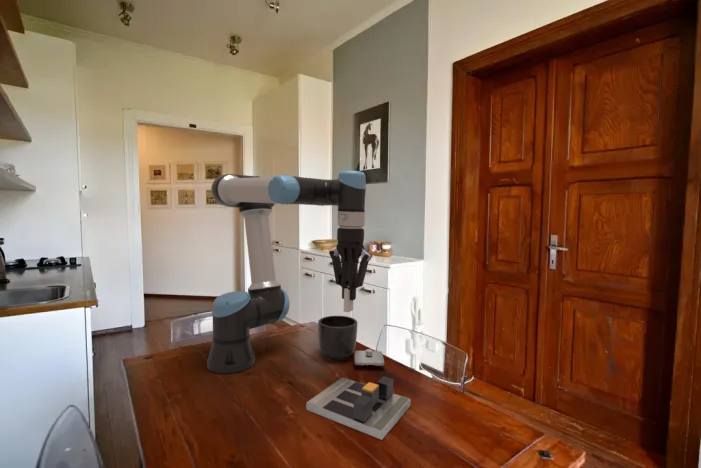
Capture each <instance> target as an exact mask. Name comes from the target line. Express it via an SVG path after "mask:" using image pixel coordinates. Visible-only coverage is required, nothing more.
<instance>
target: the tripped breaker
mask: <svg viewBox="0 0 701 468" xmlns="http://www.w3.org/2000/svg"><path fill="white" fill-rule="evenodd" d="M361 395H364V396H367V397H370V398H373V403H372V408H373V407H374V406H375V405H376V404H377V403H378V402H379V385H377V383H373V382H369V381H368V382H367V383H366V384H365V386H364V387H363V388H362V393H361Z"/></svg>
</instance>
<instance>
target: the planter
mask: <svg viewBox="0 0 701 468" xmlns="http://www.w3.org/2000/svg"><path fill="white" fill-rule="evenodd" d="M317 334H318V335H317V336H318V337H317V338H318V346H319V350H320V352H321V353H322V355H323V356H325V358H326V359H327V360H330V361H332V362H342V361H346V360H347V359H348V358H349V356H351V355H352V354H353V353H354V352H355V348H356V345H357V336H358V335H357V334H358V320H357V319H355V318H353V317H351V316H346V315H329V316H324V317H321V318H320V319H318V320H317Z"/></svg>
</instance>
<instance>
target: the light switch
mask: <svg viewBox="0 0 701 468" xmlns="http://www.w3.org/2000/svg"><path fill="white" fill-rule="evenodd" d="M353 353H354V365H356V366H364V365H367V366H368V365H373V367H376V366H382V367H383V366H384V365H385V360H384V354H383V352H382V351H380V350H379V351H378V350H372V349H371V348H369V349H368V348H367V349H365V350H354V351H353ZM374 365H375V366H374ZM368 367H369V366H368Z"/></svg>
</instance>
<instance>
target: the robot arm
mask: <svg viewBox="0 0 701 468" xmlns="http://www.w3.org/2000/svg"><path fill="white" fill-rule="evenodd" d="M366 179H367V178H366V174H365V173H364V171H359V170H342V171H339V173H338V177H337V179H322V178H313V177H302V176H295V175H289V174H275V176H259V175H245V174H235V173H226V174H222V175H220V176H218V177H216V178H215V179H214V180H213V182H212V184H211V188H210V189H211V191H210V192H211V196H212V197H213V200H215V202H217V203H218V204H219V205H221V206H224V207H228V208H236V209H237V208H238V211H239V216H241V217H242V218H243V219H244V228H245V235H246V236H245V237H246V243H247V244H246V245H247V253H248V254H247V255H248V264H249V265H248V266H249V272H250V282H251V284H250V286H248V288H247V291H245V290H236V291H230V292H226V293H222V294H221V295H218V296H217V297H216V298H215V299H214V301H213V303H212V311H211V315H212V344H211V348H210V351H209V355H208V357H207V359H206V360H207V361H206V367H207V370H209V371H210V372H212V373H215V374H216V373H217V374H235V373H238V372H239V373H240V372H242V371H245V370H248V369H250V368H251V367H252V366H254V364H255V363H256V362H255V361H256V355H255V352H254V348H253V345H252V343H251V342H252V341H251V340H250V338H251V337H250V333H251V332H250V331H251V330H252V329H256V328H259V327H262V326H266V325H272V324H276V323H278V322H281V321H282V320H284V319H285V318H286V316H287V315H288V313H289V310H290V298H289V295H288V292H287V291H286V290H284V288H283V289H282V285H281V283H279V282H278V281H277V280H276V272H275V263H274V254H273V245H272V238H271V237H272V236H271V235H272V234H271V229H270V228H271V227H270V218H269V217H270V214H271V213H272V212H273V207H274V206H275V205H276V204H280V205H305V206H306V205H307V206H319V207H320V206H321V207H325V206H335V207H337V224H336V225H337V226H338V228H337V230H336V233H337V234H336V240H337V244H336V246H335V247H336V248H334V249H333V250H329V252H328V254H329V256H330V258H331V262H332V263H331V264H332V266H333V267H332V268H333V272H334V279H335V285H337V286H340V287H341V298H342V300H343V312H346V313H349V312H350V313H351V312H352V311H354V301H355V300H356V298H357V289H358V288H362V287H363V286H364V281H365V277H366V274H367V270H368V267H369V266H368V265H369V262H370V261H371V259H372V258H373V255H372V254H371V253H368V252H367V251H366V250H365V246H364V241H365V229H364V227H365V222H366V221H365V219H366V217H365V215H366V213H365V211H366V210H365V207H366V193H367V192H366V189H367V186H366V185H367V183H366V182H367V181H366ZM359 259H361V260H359ZM359 261H360V262H359Z"/></svg>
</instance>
